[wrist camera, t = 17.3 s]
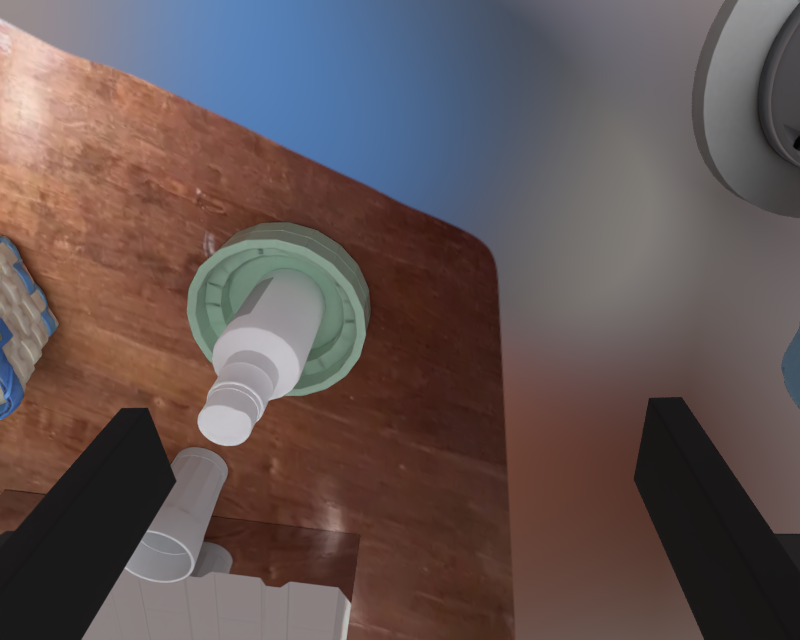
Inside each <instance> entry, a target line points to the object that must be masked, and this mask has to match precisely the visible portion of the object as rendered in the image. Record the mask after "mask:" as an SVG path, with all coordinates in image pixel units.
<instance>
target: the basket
mask: <svg viewBox="0 0 800 640" xmlns="http://www.w3.org/2000/svg"><path fill="white" fill-rule="evenodd" d="M22 261H23V260H22V259H21V257H20V254H19V252H18V250H17V248H16V246H15V245H14V244H13V243H12V241H11V240H9V239H8V238H7V237H6V236H0V420H1V419H3V418H5V417H7V416H8V415H10V414H11V413H12V412H13V411H15V410H16V409H17V407H18V406H19V405H20V403H21V401H22V399H23V398H24V391H25V389H26V383H27V381H28V380H29V379H30V377H31V374H32V373H33V372H34V370H35V367H34V364H35V363H36V362H37V361H38V360H39V358H40V357H41V356H42V352H41V349H42V348H43V347H44V346H45V344H46V343H47V342H48V338H49V337H50V336H51V335H52V334H53V333H54V332H55V330H56V329H57V328H58V325H59V323H58V321H57V319H56V317H55V316H54V314H53V313H52V311H51V310H50V308H49V307H48V304H47V299H46V297H45V294H44V292H43V291H42V289H41V288H40V287H39V286H38V285H37V284H36V283H35V282H34V280H33V278H32V277H31V275H30V273H29V271H28V270H27V268H26V266H25V265H24V263H22Z"/></svg>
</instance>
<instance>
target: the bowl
mask: <svg viewBox="0 0 800 640" xmlns="http://www.w3.org/2000/svg"><path fill="white" fill-rule="evenodd" d="M277 269H294V270H297V271H300V272H303V273H305V274H306V275H308V276H309V277H311V278H312V279H313V280H314V281H315V282H316V283H317V284H318V285H319V286H320V288H321V291H322V293H323V295H324V297H325V311H324V315H323V318H322V321H321V323H320V326H319V329H318V331H317V334H316V336H315V339H314V342H313V344H312V347H311V350H310V352H309V355H308V357H307V360H306V363H305V365H304V368H303V371H302V373H301V376H300V378H299V381H298V382H297V384H296V385H295V386H294V388H293V389H292V390H291V391H290V392H288V393H287V394H285V395H284V396H302V395H307V394H310V393H314V392H317V391H321V390H324V389H327V388H328V387H330V386H331V385H333V384H334V383H336V382H337V381H339V380H340V379H342V378H344V377H345V376H346V375H347V374H348V372H349V371H350V370H351V368H352V367H353V366H354V364H355V363H356V362H357V360H358V359H359V357H360V354H361V351H362V347H363V344H364V340H365V337H366V332H367V328H368V323H369V318H370V313H371V308H370V296H369V289H368V286H367V284H366V281H365V279H364V277H363V275H362V272H361V270H360V268H359V266H358V264H357V263H356V262H355V261H354V260H353V258H352V257H351V256H350V255H349V254H348V253H347V252H346V251H345V249H344V248H343V247H342V246H341V245H340V244H338V243H337V242H335V241H333V240H332V239H330V238H329V237H327V236H325V235H324V234H322V233H321V232H319V231H317V230H315V229H311V228H308V227H304V226H300V225H297V224H293V223H290V222H277V223H260V224H257V225H254V226H252V227H249V228H246V229H244V230H241V231H238V232H237V233H235V234H234V235H233V236H231V237H230V238H229V239H228V240H227V241H226V242H225V243H223V244H222V245H221V246H220V247H219V248H218V249H217V250H216V251H215V252H214V253H213V254H212V255H211V256H210V257H209V258H208V259H207V260H206V261H205V262H204V263H203V264H202V265H201V266H200V267H199V269H198V271H197V273H196V275H195V277H194V279H193V281H192V283H191V285H190V287H189V289H188V302H187V316H188V320H189V324H190V327H191V331H192V334H193V337H194V339H195V341H196V342H197V344H198V345H199V347H200V349H201V350H202V352H203V353H204V355H205V356H206V358H207V359H208V360H209V361H210V362H211V363H212V364H213V361H212V355H213V349H214V345H215V343H216V342H217V340H218V338H219V337H220V335H221V334H222V332H223V331H224V330H225V328H226V327H227V325H228V324H229V322H230V321H231V320H232V318H233V317H234V315H235V314H236V312H237V311H238V310H239V308H240V307H241V305H242V304H243V303H244V301H245V300H246V298H247V297H248V295H249V294H250V293H251V291H252V290H253V288H254V287H255V285H256V284H257V283H258V281H259V280H260V278H262V277H263V276H264V275H266V274H267V273H268V272H271V271H274V270H277Z"/></svg>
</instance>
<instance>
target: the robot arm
mask: <svg viewBox="0 0 800 640" xmlns="http://www.w3.org/2000/svg"><path fill="white" fill-rule="evenodd" d="M758 112H759V118H760V123H761V126H762V129H763V132H764V134H765V136H766V138H767V140H768V142H769V143H770V145H771V146H772V148H773V149H774V150H775V151H776V152H777V153H778V154H779V155H780V156H781V157H782V158H784V159H785V160H787V161H788V162H790V163H792V164H794V165H796V166H798V167H800V3H799V5H798V6H797V7H796V8H795V10H794V11H793V12H792V13H791V15H790V16H789V17H788V19H787V20H786V22H785V23H784V25H783V26H782V28H781V30H780V31H779V33H778V35H777V36H776V38H775V40H774V42H773V44H772V46H771V48H770V51H769V53H768V56H767V58H766V61H765V64H764V67H763V70H762V74H761V79H760V83H759V91H758ZM782 372H783V375H784V379H785V380H784V381H785V382H784V383H785V386H786V388H787V390H788V392H789V394H790V396H791V397H792V399H793V401H794V402H795V404H796V405H797V406H798V408H799V409H800V328H799V330H798V331H797V333H796V335H795V337H794V338H793V340H792V342H791V343H790V345H789V347H788V349H787V350H786V352H785V354H784V357H783V361H782ZM634 481H635V483H636V485H637V488H638V490H639V492H640V495H641V497H642V499H643V501H644V503H645V506H646V508H647V510H648V513H649V515H650V517H651V520H652V521H653V524H654V526H655V529H656V531H657V533H658V535H659V538H660V540H661V542H662V544H663V547H664V549H665V551H666V553H667V556H668V558H669V560H670V563H671V565H672V567H673V569H674V572H675V574H676V576H677V579H678V581H679V583H680V585H681V588H682V590H683V592H684V594H685V597H686V599H687V601H688V603H689V606H690V608H691V610H692V613H693V615H694V617H695V619H696V622H697V624H698V626H699V628H700V631H701V633H702V635H703V637H704V640H800V534H774V533H773V532H772V530H771V529H770V527H769V526H768V524H767V523H766V521H765V520H764V518H763V517H762V515H761V514H760V512H759V511H758V509H757V508H756V506H755V505H754V503H753V502H752V500H751V499H750V498H749V496H748V495H747V493H746V492H745V490H744V489H743V487H742V486H741V484H740V483H739V481H738V480H737V478H736V477H735V476H734V474H733V473H732V471H731V470H730V468H729V467H728V465H727V464H726V462H725V461H724V459H723V458H722V456H721V455H720V454H719V452H718V450H717V449H716V447H715V446H714V444H713V443H712V441H711V440H710V438H709V437H708V435H707V434H706V433H705V431H704V430H703V428H702V427H701V425H700V424H699V422H698V421H697V419H696V418H695V416H694V415H693V413H692V412H691V410H690V409H689V407H688V406H687V405H686V403H685V401H684V400H683V399H682V397H676V398H675V397H671V398H649V401H648V407H647V412H646V417H645V422H644V428H643V434H642V439H641V444H640V449H639V454H638V459H637V465H636V470H635V475H634ZM176 482H177V481H176V478H175V476H174V473H173V471H172V468H171V465H170V463H169V460H168V458H167V455H166V453H165V450H164V448H163V445H162V443H161V440H160V438H159V435H158V433H157V430H156V427H155V425H154V422H153V420H152V417H151V415H150V412H149V410H148V408H121V409H120V411H119V412H118V413H117V414H116V415H115V416H114V417H113V419H112V420H111V421H110V422H109V423H108V424H107V425H106V427H105V428H104V429H103V430H102V431H101V432H100V433H99V435H98V436H97V437H96V438H95V439H94V440H93V441H92V443H91V444H90V445H89V446H88V447H87V448H86V450H85V451H84V452H83V453H82V454H81V455H80V456H79V458H78V459H77V460H76V461H75V462H74V463H73V464H72V466H71V467H70V468H69V469H68V470H67V471H66V472H65V474H64V475H63V476H62V477H61V478H60V479H59V481H58V482H57V483H56V484H55V485H54V486H53V487H52V489H51V490H50V491H49V492H48V493H47V494H46V495H45V497H44V498H43V499H42V500H41V501H40V502H39V503H38V505H37V506H36V507H35V508H34V509H33V510H32V511H31V513H30V514H29V515H28V516H27V517H26V518H25V520H24V521H23V522H22V523H21V524H20V525H19V526H18V528H17V529H16V530H15V531H5V532H4V533H2V534H1V535H0V640H82V638H83V636H84V635H85V633H86V631H87V630H88V628H89V626H90V625H91V623H92V621H93V620H94V618H95V616H96V615H97V613H98V611H99V610H100V608H101V606H102V605H103V603H104V601H105V600H106V598H107V596H108V595H109V593H110V591H111V590H112V588H113V586H114V585H115V583H116V581H117V580H118V578H119V576H120V575H121V573H122V571H123V570H124V568H125V566H126V565H127V563H128V561H129V560H130V558H131V556H132V555H133V553H134V551H135V550H136V548H137V546H138V545H139V543H140V541H141V540H142V538H143V536H144V535H145V533H146V532H147V530H148V528H149V527H150V525H151V523H152V522H153V520H154V518H155V517H156V515H157V513H158V512H159V510H160V508H161V507H162V505H163V503H164V502H165V500H166V498H167V497H168V495H169V493H170V492H171V490H172V488H173V487H174V485H175V483H176Z"/></svg>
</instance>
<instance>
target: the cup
mask: <svg viewBox="0 0 800 640" xmlns="http://www.w3.org/2000/svg"><path fill="white" fill-rule="evenodd" d="M171 468H172V471H173V473H174V476H175V478H176V481H177V482H176V483H175V485H174V487H173V488H172V490H171V492H170V493H169V495H168V497H167V498H166V500H165V502H164V503H163V505H162V507H161V508H160V510H159V512H158V513H157V515H156V517H155V518H154V520H153V522H152V523H151V525H150V527H149V528H148V530H147V532H146V533H145V535H144V536H143V538H142V540H141V541H140V543H139V545H138V546H137V548H136V550H135V551H134V553H133V555H132V556H131V558H130V560H129V561H128V563H127V565H126V566H125V569H126V570H127V571H129V572H130V573H132V574H134V575H136V576H138V577H140V578H143V579H146V580H149V581H154V582H161V583H170V582H176V581H180V580H183V579H185V578H186V577H188V576H189V575H190V574H191V573H192V571H193V569H194V566H195V563H196V560H197V558H198V555H199V552H200V549H201V546H202V543H203V540H204V535H205V532H206V529H207V527H208V524H209V521H210V518H211V515H212V513H213V510H214V507H215V504H216V502H217V499H218V496H219V493H220V491H221V488H222V486H223V484H224V482H225V480H226V478H227V475H228V468H227V465H226V463H225V461H224V460H223V459H222V458H221V457H220V456H219V455H218V454H216V453H214V452H213V451H210V450H208V449H205V448H200V447H191V448H186V449H184V450H182V451H180V452H179V453H178V454H177V456H176V457H175V459H174V461H173V462H172V464H171Z"/></svg>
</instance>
